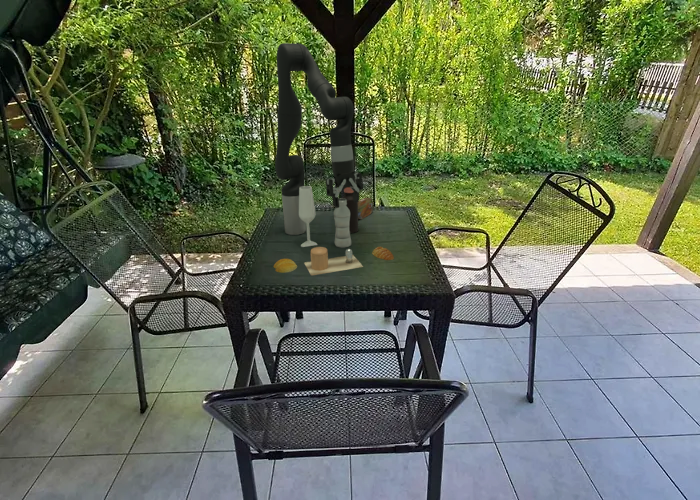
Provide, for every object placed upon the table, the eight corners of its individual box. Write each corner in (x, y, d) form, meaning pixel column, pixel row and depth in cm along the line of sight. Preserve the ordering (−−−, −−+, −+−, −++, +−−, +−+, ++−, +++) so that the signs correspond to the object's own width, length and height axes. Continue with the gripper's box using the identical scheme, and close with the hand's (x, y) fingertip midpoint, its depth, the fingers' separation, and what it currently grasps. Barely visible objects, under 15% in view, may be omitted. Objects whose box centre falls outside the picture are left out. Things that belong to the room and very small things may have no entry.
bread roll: (277, 278, 148) (276, 268, 146) (272, 268, 155) (271, 258, 154) (300, 274, 150) (299, 264, 149) (294, 264, 158) (293, 254, 156)
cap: (309, 264, 153) (308, 248, 151) (325, 262, 155) (324, 245, 152) (313, 271, 148) (312, 254, 146) (330, 268, 150) (329, 252, 147)
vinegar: (361, 231, 187) (360, 186, 179) (348, 234, 184) (347, 189, 176) (352, 226, 192) (351, 183, 184) (339, 230, 189) (338, 186, 181)
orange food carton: (357, 221, 199) (357, 204, 195) (352, 220, 200) (351, 203, 197) (374, 212, 210) (374, 196, 207) (368, 211, 212) (368, 195, 209)
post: (344, 261, 155) (344, 248, 153) (351, 260, 156) (350, 247, 154) (347, 263, 153) (346, 250, 151) (353, 262, 154) (353, 249, 152)
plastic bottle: (349, 251, 167) (348, 202, 159) (332, 250, 168) (331, 201, 160) (352, 245, 173) (352, 197, 165) (336, 244, 174) (335, 197, 166)
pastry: (398, 261, 158) (399, 252, 157) (384, 266, 155) (384, 256, 154) (383, 253, 166) (384, 244, 164) (369, 257, 162) (369, 248, 161)
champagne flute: (297, 246, 173) (293, 188, 163) (306, 240, 178) (303, 184, 169) (311, 249, 170) (308, 190, 160) (320, 243, 175) (317, 186, 166)
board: (304, 266, 156) (303, 262, 155) (353, 258, 161) (353, 254, 161) (311, 279, 146) (311, 275, 146) (363, 270, 152) (363, 266, 151)
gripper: (352, 155, 153) (356, 199, 158) (319, 161, 145) (324, 207, 150) (365, 156, 147) (368, 202, 152) (331, 162, 139) (336, 210, 145)
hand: (346, 204), depth 151 cm, fingers open, 8 cm apart
